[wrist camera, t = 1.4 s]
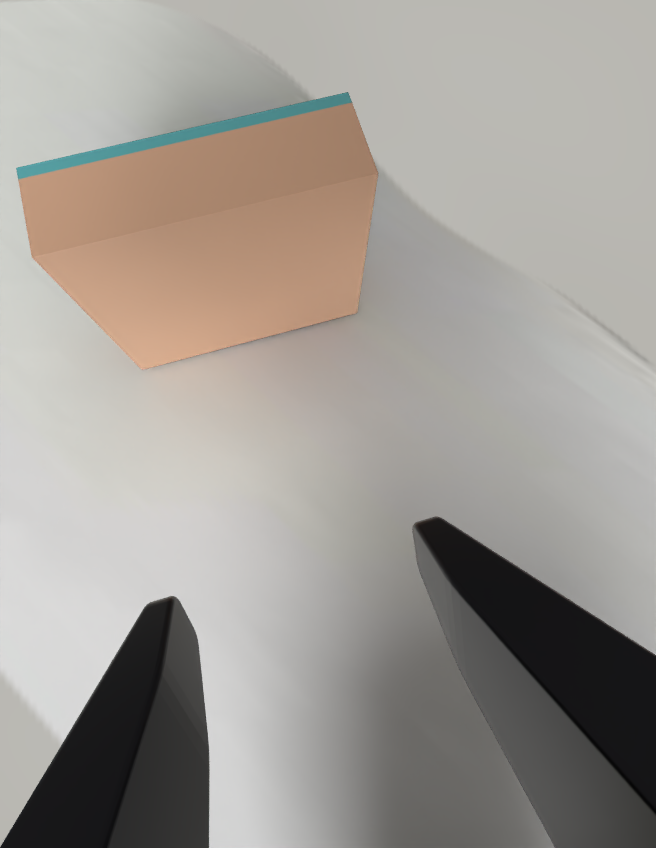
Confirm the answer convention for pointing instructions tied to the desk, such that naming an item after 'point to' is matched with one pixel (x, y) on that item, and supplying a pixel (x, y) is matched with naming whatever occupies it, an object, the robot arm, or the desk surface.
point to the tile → (210, 229)
